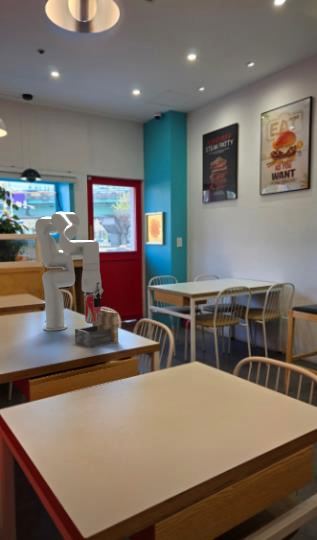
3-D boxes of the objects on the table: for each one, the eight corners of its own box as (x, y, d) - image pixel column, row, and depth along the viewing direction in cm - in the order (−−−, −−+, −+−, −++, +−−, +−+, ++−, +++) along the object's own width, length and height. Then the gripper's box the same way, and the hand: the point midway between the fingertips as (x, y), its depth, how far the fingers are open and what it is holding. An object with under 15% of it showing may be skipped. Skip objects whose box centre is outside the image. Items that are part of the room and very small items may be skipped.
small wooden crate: (73, 340, 179) (72, 311, 178) (96, 335, 188) (95, 307, 187) (94, 348, 166) (93, 316, 165) (118, 342, 175) (117, 312, 174)
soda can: (102, 320, 179) (101, 293, 178) (98, 324, 171) (97, 295, 170) (87, 320, 179) (86, 293, 178) (83, 323, 172) (82, 295, 171)
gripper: (74, 267, 177) (75, 305, 179) (95, 268, 165) (96, 309, 166) (87, 266, 182) (89, 303, 184) (109, 267, 170) (110, 307, 171)
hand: (92, 305), depth 175 cm, fingers closed on soda can, 6 cm apart
